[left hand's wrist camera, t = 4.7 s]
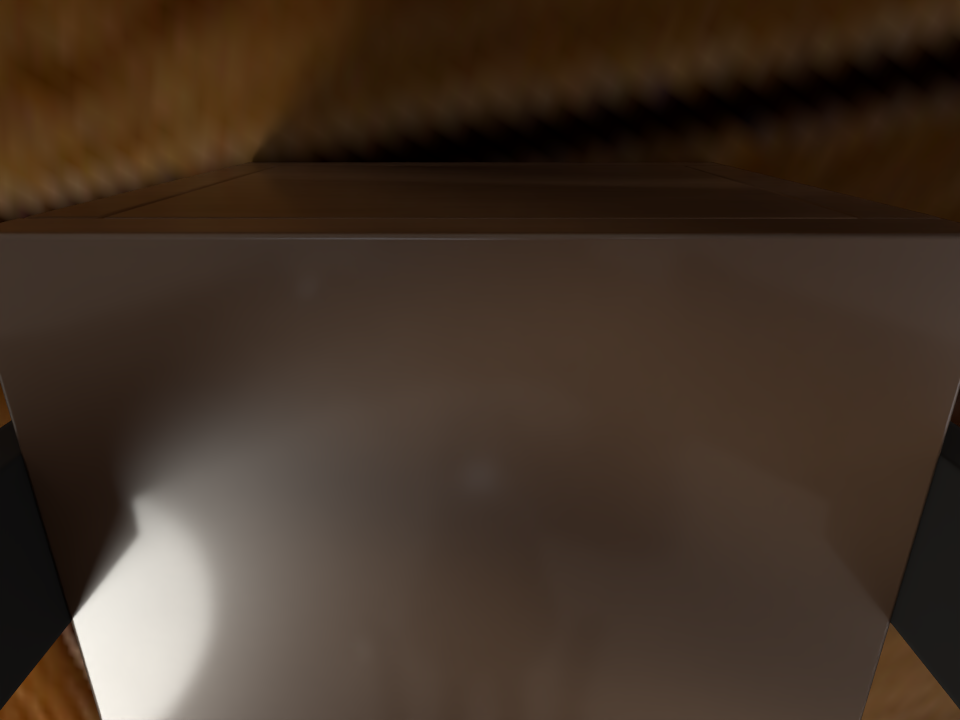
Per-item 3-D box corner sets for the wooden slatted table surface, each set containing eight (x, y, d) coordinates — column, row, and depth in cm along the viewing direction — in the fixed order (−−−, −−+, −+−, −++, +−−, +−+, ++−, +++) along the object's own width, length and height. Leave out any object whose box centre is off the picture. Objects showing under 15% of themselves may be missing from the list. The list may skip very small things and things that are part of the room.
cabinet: (640, 743, 23) (738, 1136, 14) (320, 742, 23) (221, 1134, 14) (714, 161, 16) (1010, 233, 7) (247, 162, 16) (-47, 233, 7)
